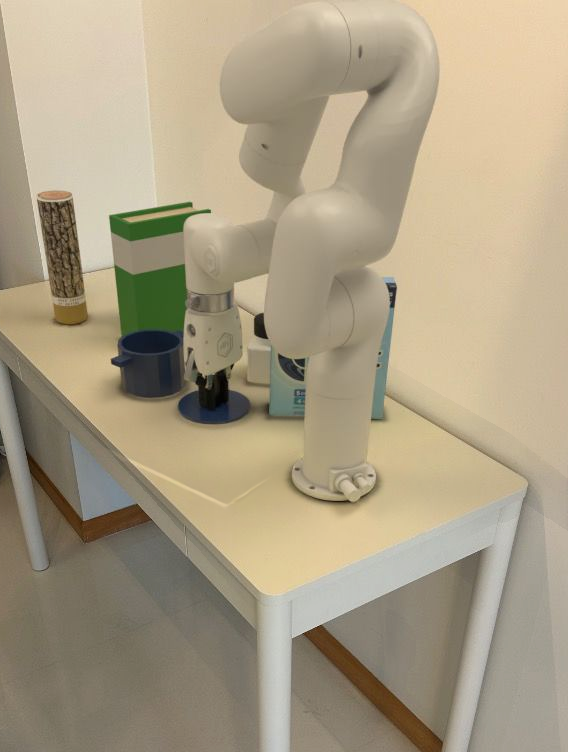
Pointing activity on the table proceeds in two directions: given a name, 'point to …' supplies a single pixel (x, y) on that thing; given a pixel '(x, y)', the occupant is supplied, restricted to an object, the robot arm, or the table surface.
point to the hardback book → (151, 266)
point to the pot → (151, 362)
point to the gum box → (292, 373)
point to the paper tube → (62, 256)
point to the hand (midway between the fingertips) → (214, 402)
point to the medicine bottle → (259, 353)
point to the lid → (222, 411)
